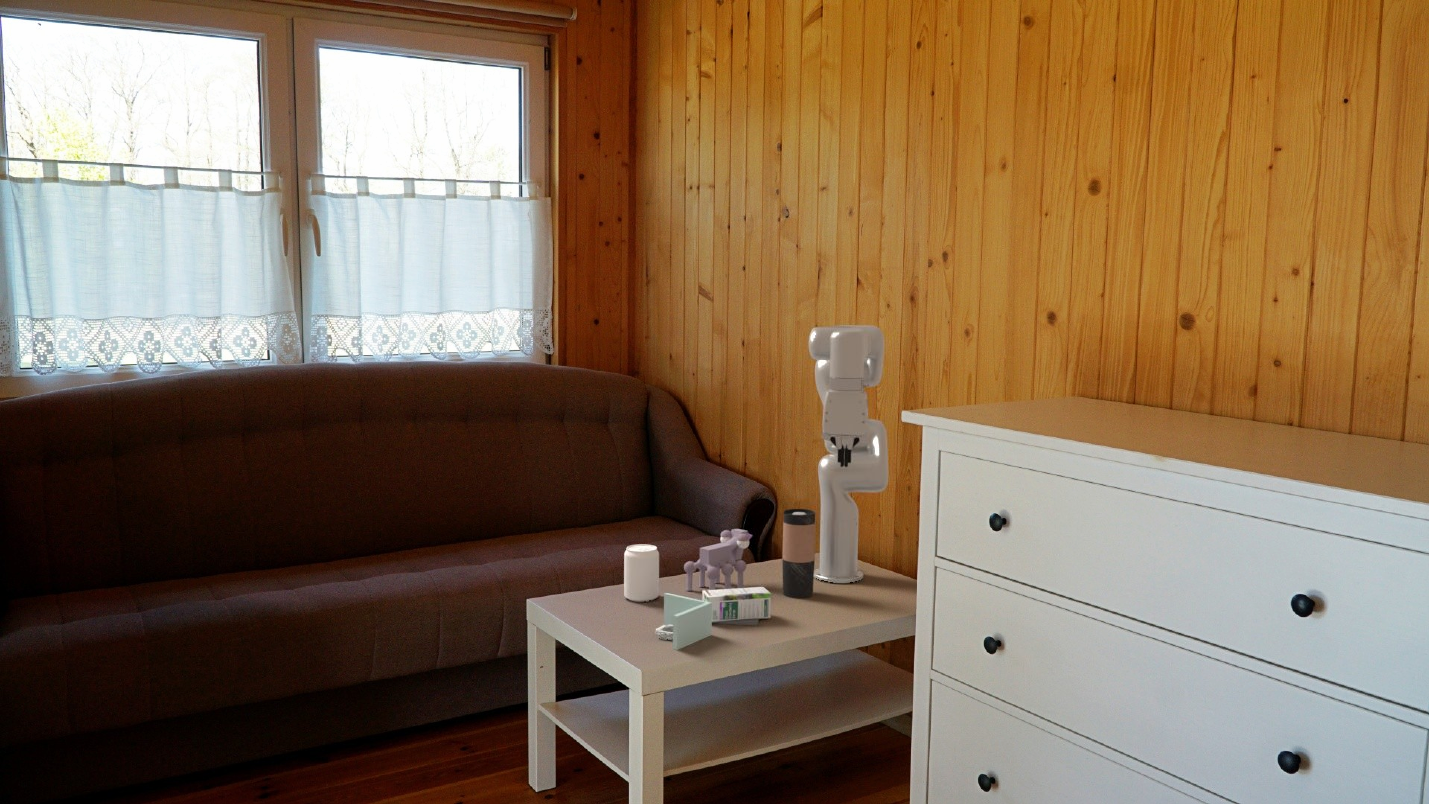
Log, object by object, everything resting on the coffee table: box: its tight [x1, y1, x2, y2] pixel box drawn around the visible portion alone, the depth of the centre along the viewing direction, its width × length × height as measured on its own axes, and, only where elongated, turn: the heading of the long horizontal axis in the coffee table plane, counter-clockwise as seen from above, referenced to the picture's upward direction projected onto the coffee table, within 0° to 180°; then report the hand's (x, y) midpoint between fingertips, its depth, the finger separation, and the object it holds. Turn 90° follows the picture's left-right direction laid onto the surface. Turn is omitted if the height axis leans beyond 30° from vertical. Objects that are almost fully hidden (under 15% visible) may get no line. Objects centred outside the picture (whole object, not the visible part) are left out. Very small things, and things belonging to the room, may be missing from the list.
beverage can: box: [623, 543, 660, 603], centre depth 251 cm, size 8×8×12 cm
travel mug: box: [781, 508, 816, 599], centre depth 255 cm, size 8×8×20 cm
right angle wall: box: [655, 592, 713, 651], centre depth 224 cm, size 12×12×8 cm
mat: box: [691, 597, 760, 627], centre depth 241 cm, size 16×20×1 cm
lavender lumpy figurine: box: [683, 528, 753, 592], centre depth 262 cm, size 20×11×14 cm, turn 136°
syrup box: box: [702, 586, 772, 622], centre depth 236 cm, size 6×6×14 cm
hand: (844, 465), depth 243 cm, fingers closed
